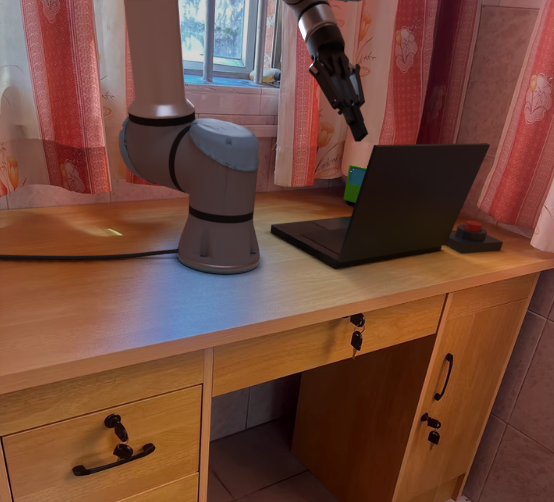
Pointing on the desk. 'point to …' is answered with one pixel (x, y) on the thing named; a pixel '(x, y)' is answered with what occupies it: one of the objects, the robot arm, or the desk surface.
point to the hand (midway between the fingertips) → (361, 137)
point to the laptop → (329, 241)
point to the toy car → (353, 183)
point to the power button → (473, 226)
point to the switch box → (472, 241)
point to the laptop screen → (410, 198)
